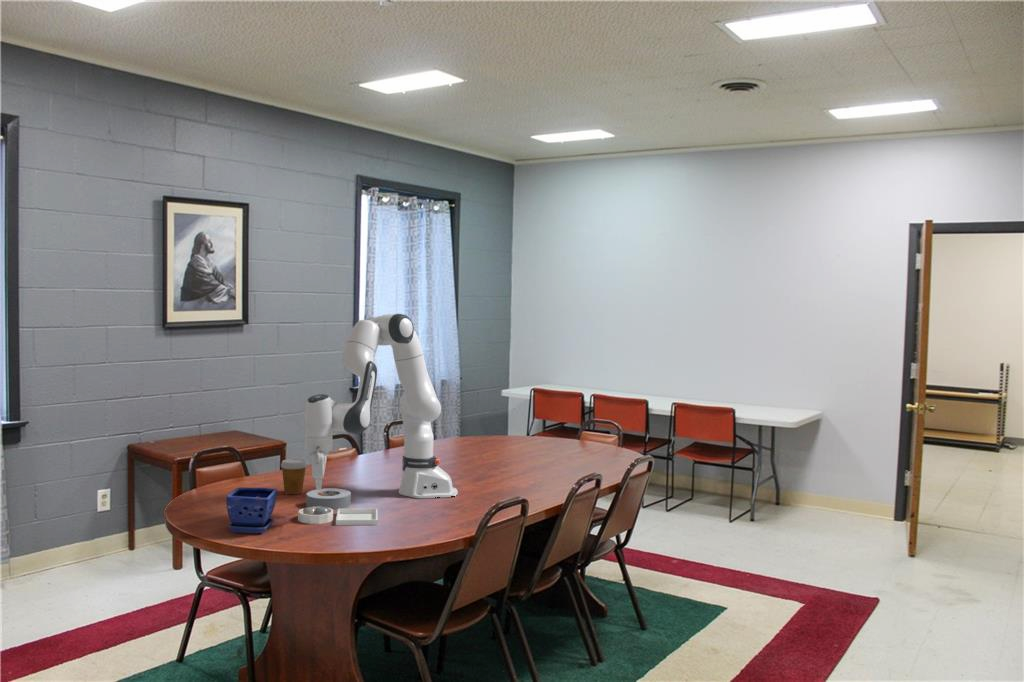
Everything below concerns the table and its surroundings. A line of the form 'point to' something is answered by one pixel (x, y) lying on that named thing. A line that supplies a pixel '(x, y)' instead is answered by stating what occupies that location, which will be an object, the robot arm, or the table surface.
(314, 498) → the tape roll
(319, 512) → the pebble
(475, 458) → the table surface
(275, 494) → the flower pot
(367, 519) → the tray
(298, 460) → the disposable coffee cup
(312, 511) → the pebble
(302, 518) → the bowl
